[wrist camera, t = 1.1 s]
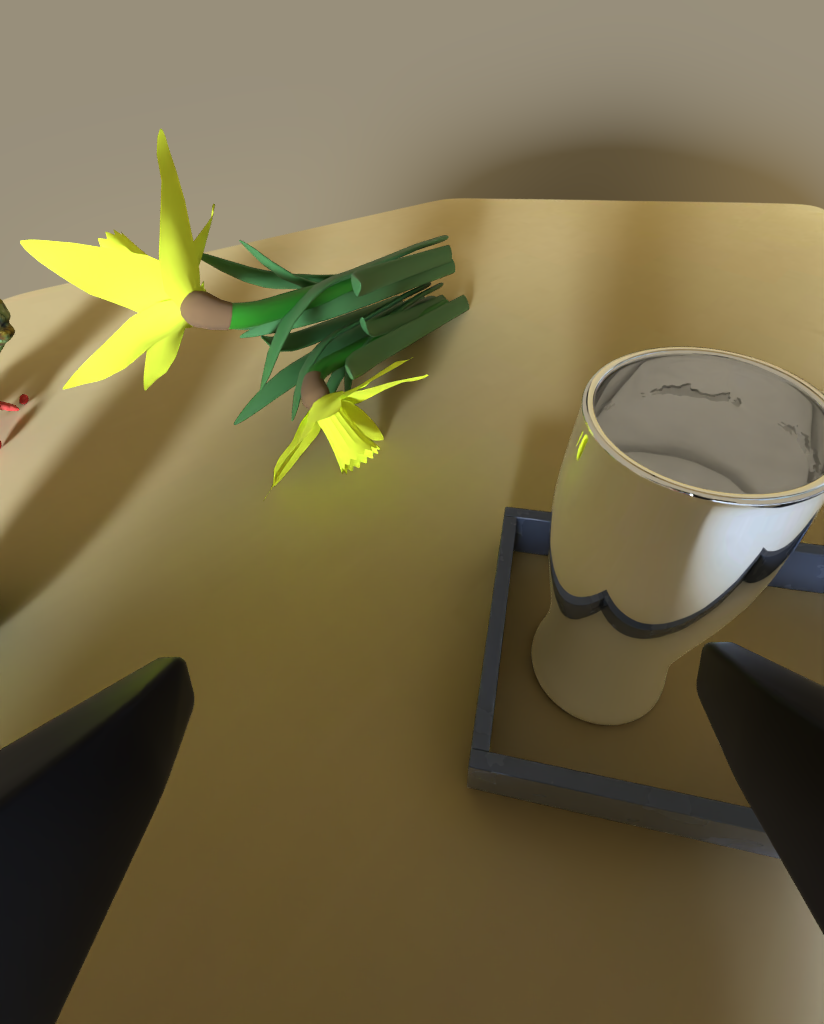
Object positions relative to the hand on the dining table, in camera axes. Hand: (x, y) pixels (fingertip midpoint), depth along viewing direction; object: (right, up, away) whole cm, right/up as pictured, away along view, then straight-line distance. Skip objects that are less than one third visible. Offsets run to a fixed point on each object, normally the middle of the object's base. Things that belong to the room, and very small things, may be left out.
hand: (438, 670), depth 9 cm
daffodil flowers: (-5, +12, +32) cm, 35 cm away
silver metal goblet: (+8, -5, +16) cm, 19 cm away
